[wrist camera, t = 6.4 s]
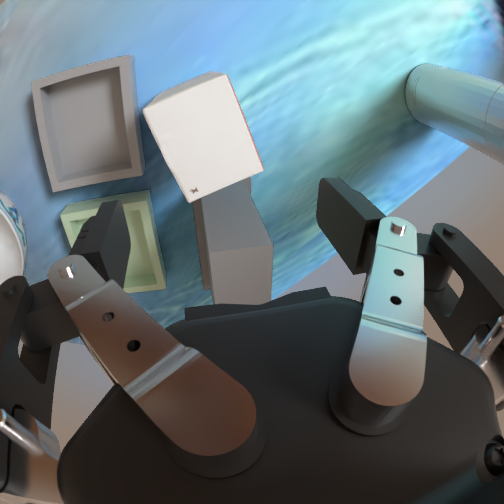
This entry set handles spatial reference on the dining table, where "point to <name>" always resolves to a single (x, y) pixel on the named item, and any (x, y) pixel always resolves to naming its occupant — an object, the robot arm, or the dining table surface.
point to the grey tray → (90, 123)
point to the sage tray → (141, 234)
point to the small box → (203, 135)
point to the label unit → (233, 246)
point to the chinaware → (11, 240)
